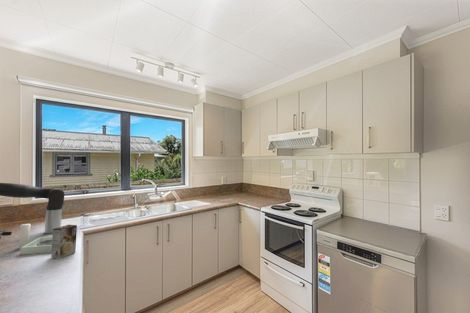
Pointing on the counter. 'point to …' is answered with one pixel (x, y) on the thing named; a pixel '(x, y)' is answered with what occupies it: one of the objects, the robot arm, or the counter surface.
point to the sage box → (38, 246)
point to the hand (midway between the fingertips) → (5, 235)
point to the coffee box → (63, 241)
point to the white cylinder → (24, 235)
